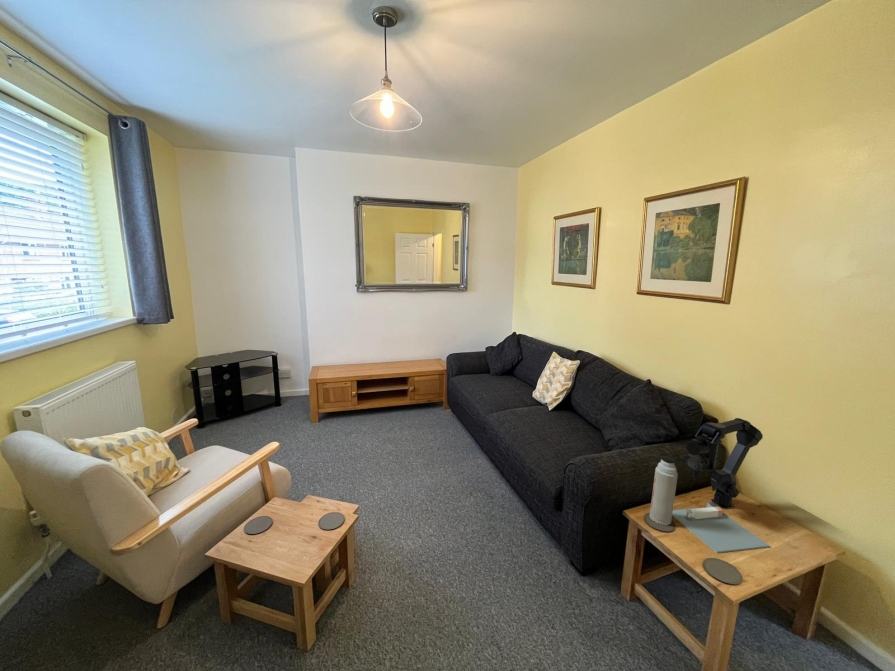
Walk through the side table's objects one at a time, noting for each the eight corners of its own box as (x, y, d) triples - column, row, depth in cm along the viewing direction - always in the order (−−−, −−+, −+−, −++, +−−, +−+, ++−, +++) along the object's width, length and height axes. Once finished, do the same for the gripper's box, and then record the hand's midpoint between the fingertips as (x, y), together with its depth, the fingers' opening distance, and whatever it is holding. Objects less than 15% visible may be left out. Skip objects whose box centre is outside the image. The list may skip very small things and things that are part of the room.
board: (713, 507, 158) (713, 506, 158) (769, 547, 135) (769, 545, 135) (667, 511, 154) (667, 510, 154) (716, 552, 131) (716, 551, 131)
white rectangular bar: (696, 519, 148) (697, 512, 148) (690, 515, 151) (691, 509, 150) (721, 516, 151) (722, 510, 150) (716, 512, 153) (717, 506, 153)
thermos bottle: (647, 518, 149) (654, 458, 145) (652, 510, 155) (660, 452, 151) (668, 528, 144) (676, 465, 140) (673, 519, 149) (681, 458, 145)
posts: (710, 509, 157) (711, 501, 156) (718, 514, 154) (719, 506, 153) (681, 517, 151) (682, 508, 150) (689, 522, 148) (690, 513, 147)
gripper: (675, 443, 161) (671, 474, 163) (712, 463, 143) (707, 498, 145) (696, 442, 163) (692, 473, 165) (735, 462, 144) (729, 496, 147)
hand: (703, 484), depth 155 cm, fingers open, 9 cm apart
